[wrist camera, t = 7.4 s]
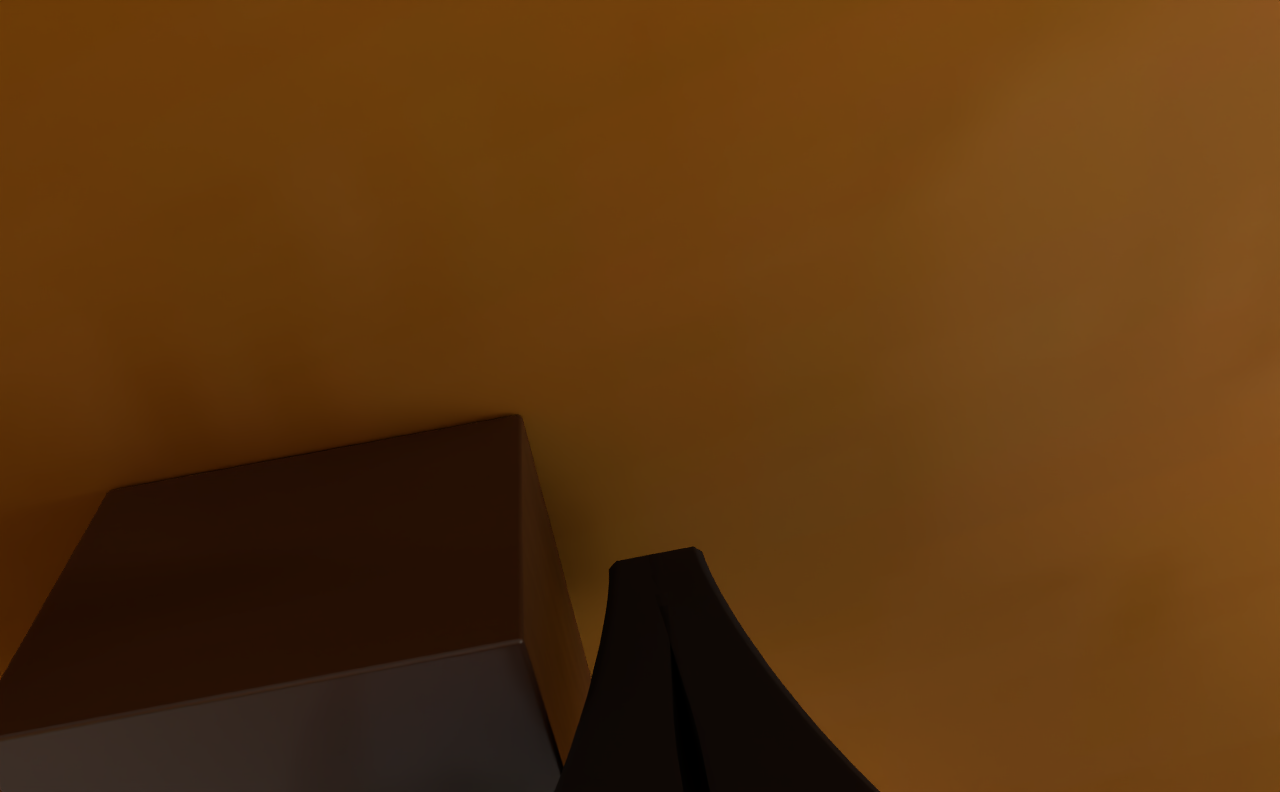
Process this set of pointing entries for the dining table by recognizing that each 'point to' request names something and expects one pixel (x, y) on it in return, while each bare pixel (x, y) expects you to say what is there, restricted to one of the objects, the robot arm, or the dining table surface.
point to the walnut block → (309, 631)
